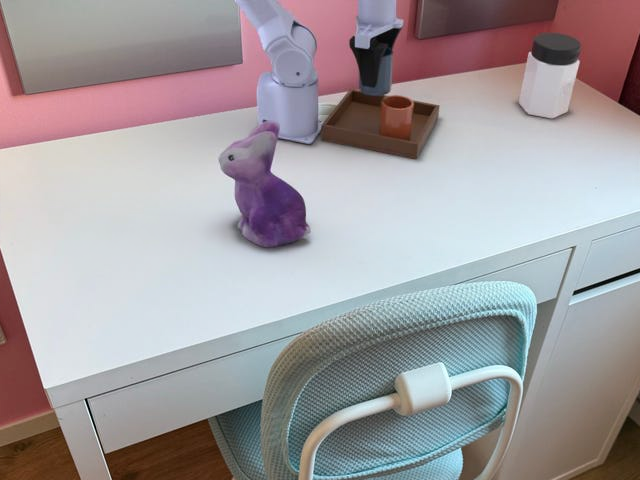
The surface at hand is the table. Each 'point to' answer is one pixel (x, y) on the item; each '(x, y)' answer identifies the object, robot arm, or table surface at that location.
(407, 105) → the orange cup
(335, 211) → the table surface
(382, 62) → the blue cup
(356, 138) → the tray
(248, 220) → the figurine
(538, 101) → the jar
